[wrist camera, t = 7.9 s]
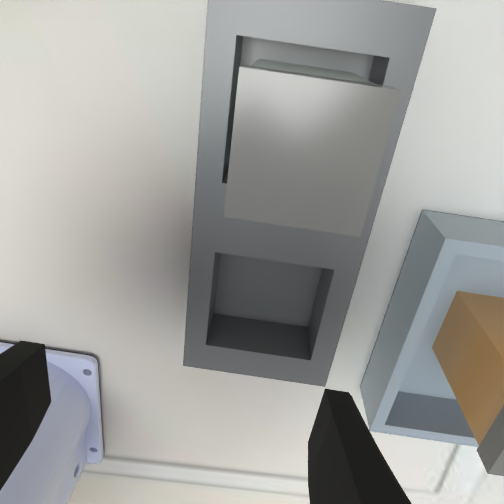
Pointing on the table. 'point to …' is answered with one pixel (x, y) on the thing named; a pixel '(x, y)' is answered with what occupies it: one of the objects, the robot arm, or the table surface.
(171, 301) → the table surface
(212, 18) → the block
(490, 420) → the block
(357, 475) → the robot arm
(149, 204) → the table surface
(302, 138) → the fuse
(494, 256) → the parts tray
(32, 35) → the table surface
